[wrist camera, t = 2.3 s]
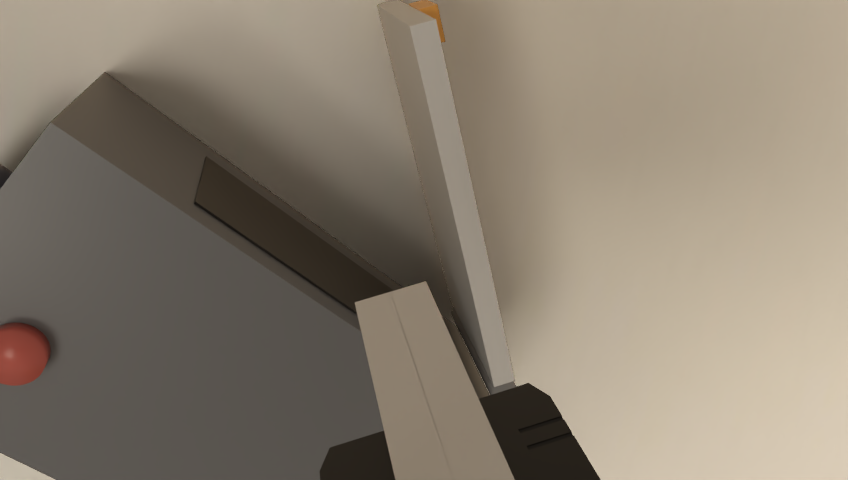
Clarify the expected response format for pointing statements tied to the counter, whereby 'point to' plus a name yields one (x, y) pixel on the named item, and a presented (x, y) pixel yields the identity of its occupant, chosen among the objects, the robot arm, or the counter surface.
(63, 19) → the counter surface
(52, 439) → the box
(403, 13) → the side door
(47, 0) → the counter surface
